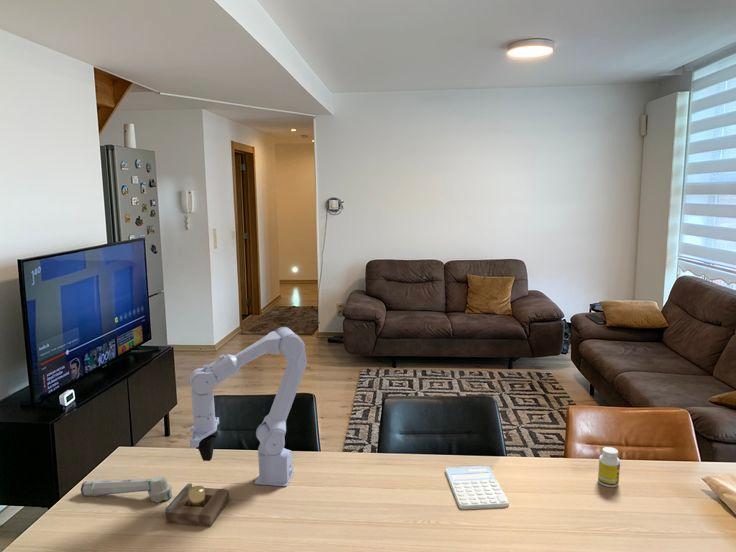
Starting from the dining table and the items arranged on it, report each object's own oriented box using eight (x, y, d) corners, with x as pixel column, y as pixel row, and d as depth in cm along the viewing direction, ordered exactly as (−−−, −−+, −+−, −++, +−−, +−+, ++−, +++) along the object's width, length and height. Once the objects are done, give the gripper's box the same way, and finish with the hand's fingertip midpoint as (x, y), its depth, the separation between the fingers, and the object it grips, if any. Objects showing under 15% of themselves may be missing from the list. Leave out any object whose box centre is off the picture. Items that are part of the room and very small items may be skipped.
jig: (229, 499, 149) (228, 486, 148) (211, 526, 137) (209, 511, 137) (188, 496, 151) (187, 483, 150) (165, 523, 139) (164, 508, 138)
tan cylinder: (208, 507, 146) (207, 486, 145) (201, 516, 142) (199, 494, 141) (194, 505, 146) (193, 485, 145) (187, 514, 143) (185, 493, 142)
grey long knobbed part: (89, 476, 155) (172, 469, 152) (94, 498, 156) (176, 491, 152) (77, 486, 150) (162, 479, 146) (83, 509, 151) (167, 502, 147)
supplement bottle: (619, 489, 151) (621, 455, 150) (598, 486, 153) (600, 453, 151) (617, 479, 156) (619, 447, 155) (597, 476, 158) (598, 444, 156)
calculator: (459, 511, 143) (459, 504, 143) (444, 472, 163) (444, 466, 162) (510, 508, 144) (510, 502, 143) (488, 470, 163) (489, 464, 163)
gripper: (201, 401, 156) (204, 446, 159) (177, 423, 142) (181, 472, 144) (224, 402, 155) (227, 447, 158) (203, 424, 141) (207, 473, 144)
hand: (207, 459), depth 151 cm, fingers closed
